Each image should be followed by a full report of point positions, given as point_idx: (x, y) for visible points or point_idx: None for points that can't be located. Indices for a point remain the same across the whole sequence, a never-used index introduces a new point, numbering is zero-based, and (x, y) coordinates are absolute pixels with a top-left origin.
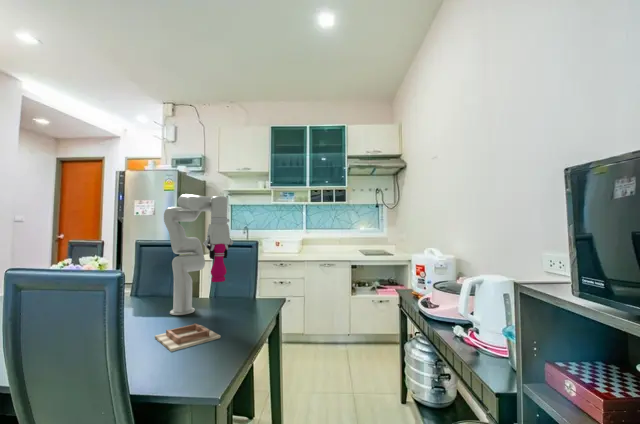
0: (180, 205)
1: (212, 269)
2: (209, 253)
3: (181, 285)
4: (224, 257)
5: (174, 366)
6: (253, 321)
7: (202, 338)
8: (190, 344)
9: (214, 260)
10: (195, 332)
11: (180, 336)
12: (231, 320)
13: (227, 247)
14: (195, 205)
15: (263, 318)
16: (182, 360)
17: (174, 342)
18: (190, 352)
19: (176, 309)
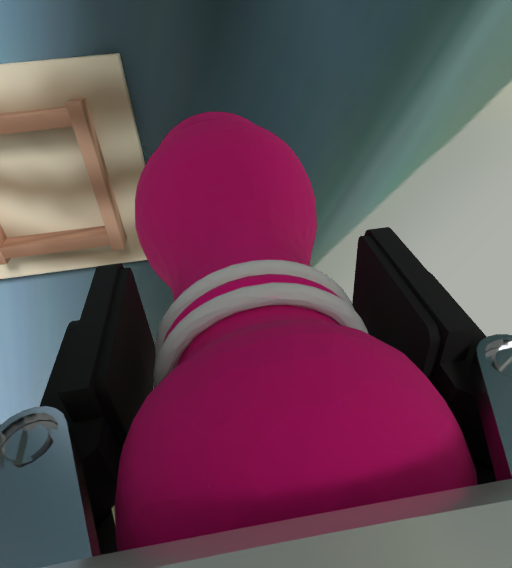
0: None
1: (144, 253)
2: (53, 371)
3: None
4: (354, 300)
5: (7, 366)
6: (363, 143)
7: (97, 247)
8: (51, 271)
9: (174, 289)
10: (77, 162)
11: (3, 248)
12: (295, 46)
13: (494, 477)
14: None
15: (422, 129)
16: (27, 346)
17: None
18: (51, 310)
19: None
